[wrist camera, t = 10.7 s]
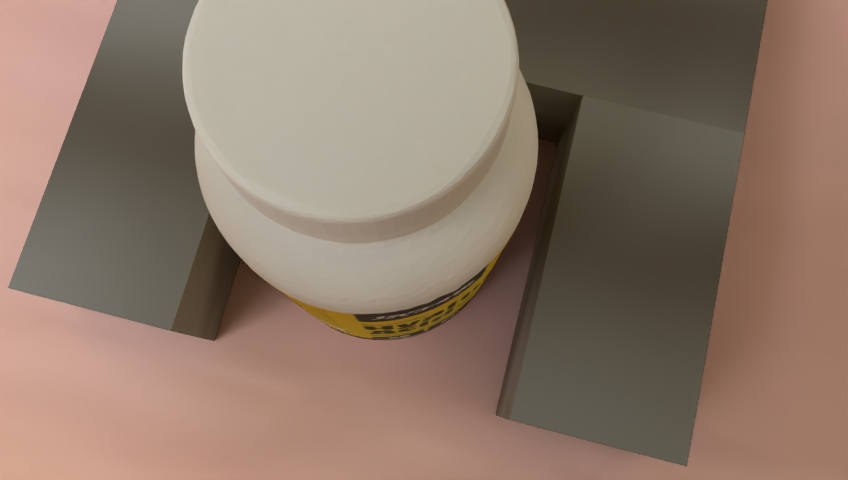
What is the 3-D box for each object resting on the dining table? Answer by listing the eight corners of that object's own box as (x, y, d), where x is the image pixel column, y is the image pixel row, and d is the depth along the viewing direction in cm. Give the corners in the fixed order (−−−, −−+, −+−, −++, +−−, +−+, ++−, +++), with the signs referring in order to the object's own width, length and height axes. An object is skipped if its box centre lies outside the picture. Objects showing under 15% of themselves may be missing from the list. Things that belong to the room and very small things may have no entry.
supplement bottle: (380, 390, 17) (320, 389, 7) (236, 228, 18) (15, 40, 8) (541, 240, 18) (674, 63, 8) (395, 91, 19) (361, -227, 9)
